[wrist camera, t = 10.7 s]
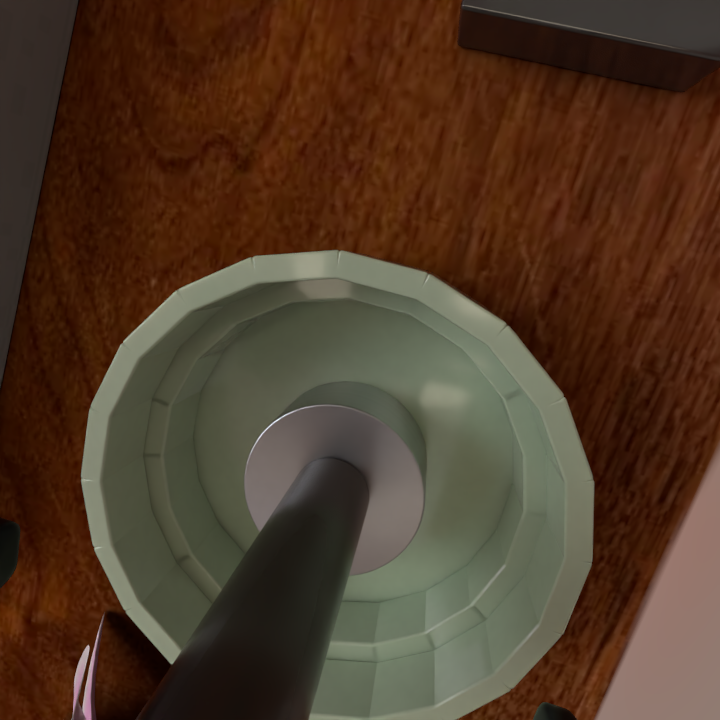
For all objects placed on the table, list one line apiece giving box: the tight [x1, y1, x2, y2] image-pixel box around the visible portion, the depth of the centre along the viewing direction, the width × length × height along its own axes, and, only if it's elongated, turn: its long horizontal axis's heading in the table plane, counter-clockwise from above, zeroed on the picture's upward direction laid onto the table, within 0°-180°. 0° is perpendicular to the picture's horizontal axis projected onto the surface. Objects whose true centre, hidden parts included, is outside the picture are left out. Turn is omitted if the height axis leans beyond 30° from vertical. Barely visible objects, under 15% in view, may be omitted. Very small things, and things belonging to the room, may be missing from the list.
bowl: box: [81, 250, 594, 720], centre depth 13 cm, size 12×12×4 cm
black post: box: [136, 381, 427, 720], centre depth 10 cm, size 5×5×10 cm
